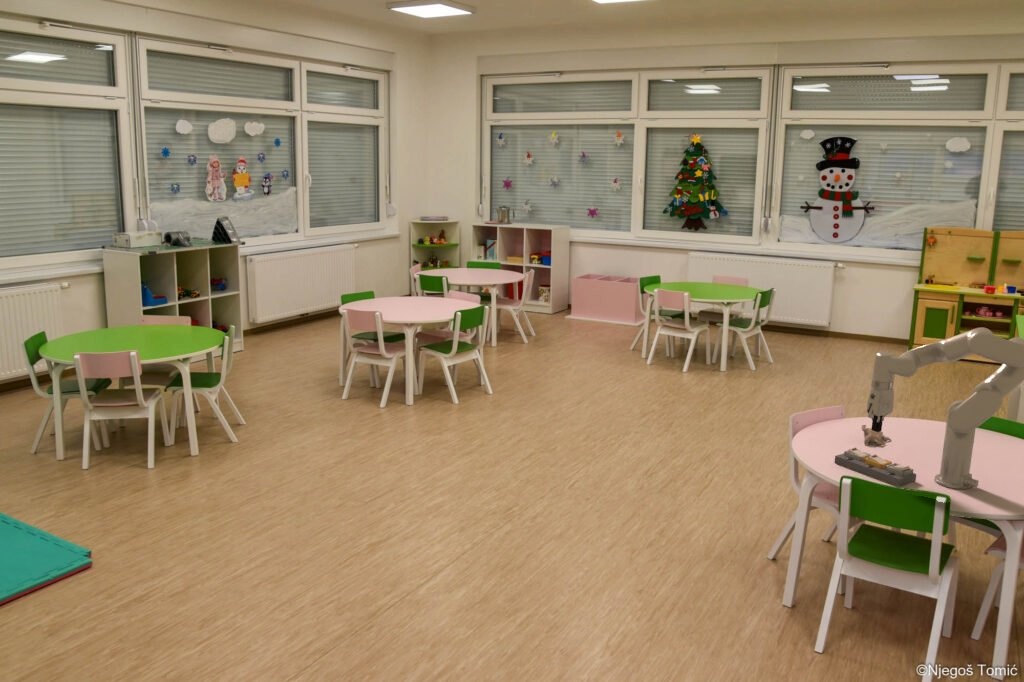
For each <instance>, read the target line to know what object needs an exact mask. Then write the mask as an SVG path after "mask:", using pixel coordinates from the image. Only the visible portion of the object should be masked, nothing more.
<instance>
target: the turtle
mask: <svg viewBox="0 0 1024 682" xmlns="http://www.w3.org/2000/svg"><path fill="white" fill-rule="evenodd" d="M861 431H862V432H863V436H864V439H863V440H864V441H863V443H864V446H869V444H878V445H879V446H885V445H887V444H886V441H885V440H887V441H889V442H890V441H892V439H891V438H890V437H889V436H885V435H884V434H883V433H884V432H882V431H881V432H876V431H873V430H872V427H871V428H870V427H867V424H863V425H861Z"/></svg>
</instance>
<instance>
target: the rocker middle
mask: <svg viewBox="0 0 1024 682" xmlns="http://www.w3.org/2000/svg"><path fill="white" fill-rule="evenodd" d="M869 459H870V460H872V461H875V462H877V463H880V464H883V463H886V462H887V461H885V460H886V459H885V460H884V458H883V457H881V456H879V455H877V454H871V456H869Z"/></svg>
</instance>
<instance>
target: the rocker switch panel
mask: <svg viewBox="0 0 1024 682" xmlns="http://www.w3.org/2000/svg"><path fill="white" fill-rule="evenodd" d="M863 452H864V451H863ZM864 453H865V454H867V455H865V456H858V455H855V454H852V453H850V452H849V449H848V450H845V451H844V452H843V453H841V454H837V455H834V464H837V465H839V466H842V467H844V468H847V469H849V470H852V471H855V472H858V473H860V474H863V475H866V476H868V477H871V478H874V479H876V480H879V481H882V482H884V483H887V484H889V485H893V486H895V487H898V486H899V487H898V488H900V487H903V486H906V485H909V484H912V483H915V482H916V480H917V474H916V473H915V472H914V469H913V468H911V467H909V468H910V469H907V470H903V471H902V470H897V469H894V468H892V467H890V466H893V465H900V463H897V462H894V463H893V462H892V461H891V460H888V459H884V458H883V459H884V460H885V461H887V462H886V463H883V464H880V463H877V462H875V461H872V460H870V459H869V456H871V455H872V454H871V453H867V452H864Z"/></svg>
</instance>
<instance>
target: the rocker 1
mask: <svg viewBox="0 0 1024 682" xmlns="http://www.w3.org/2000/svg"><path fill="white" fill-rule="evenodd" d="M848 450H849V452H850V453H852V454H855V455H858V456H865V455H867V454H865V453H866V452H865V453H864V451H862V450H861V449H859V448H857V447H851V448H848Z"/></svg>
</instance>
